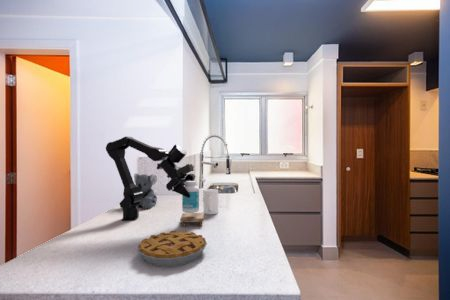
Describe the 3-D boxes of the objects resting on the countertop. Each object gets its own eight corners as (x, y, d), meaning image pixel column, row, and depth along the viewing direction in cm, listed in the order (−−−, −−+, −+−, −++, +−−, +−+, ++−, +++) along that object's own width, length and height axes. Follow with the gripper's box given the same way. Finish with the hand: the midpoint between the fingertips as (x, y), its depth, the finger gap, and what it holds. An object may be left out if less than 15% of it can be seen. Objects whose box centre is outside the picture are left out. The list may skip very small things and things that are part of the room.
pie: (177, 237, 101) (177, 224, 101) (219, 252, 87) (219, 237, 87) (124, 256, 84) (124, 240, 84) (167, 277, 70) (167, 259, 70)
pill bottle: (200, 212, 114) (200, 182, 114) (183, 213, 112) (183, 182, 112) (197, 209, 121) (197, 180, 121) (181, 209, 119) (181, 180, 119)
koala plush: (122, 208, 149) (121, 174, 149) (139, 201, 166) (138, 171, 166) (149, 209, 145) (149, 174, 145) (163, 202, 163) (163, 171, 162)
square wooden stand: (180, 227, 113) (180, 219, 113) (182, 220, 123) (182, 213, 123) (203, 226, 114) (203, 218, 114) (203, 220, 124) (203, 212, 124)
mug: (201, 216, 130) (201, 192, 130) (203, 210, 142) (203, 188, 142) (217, 216, 130) (217, 192, 130) (218, 210, 142) (218, 188, 142)
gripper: (172, 158, 109) (196, 186, 105) (191, 157, 126) (213, 180, 123) (156, 176, 111) (179, 204, 108) (177, 172, 129) (197, 196, 126)
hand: (193, 195), depth 116 cm, fingers closed on pill bottle, 7 cm apart
